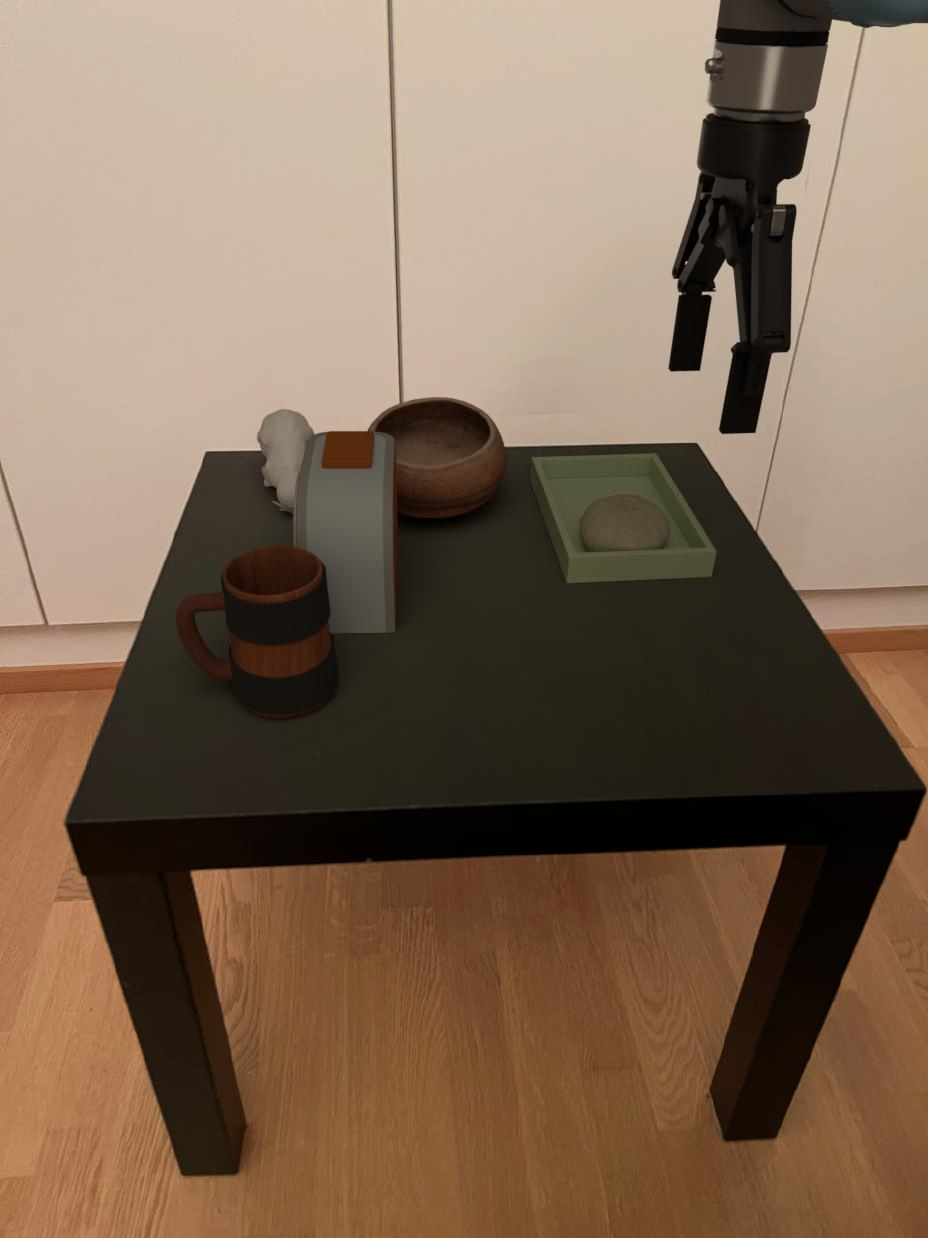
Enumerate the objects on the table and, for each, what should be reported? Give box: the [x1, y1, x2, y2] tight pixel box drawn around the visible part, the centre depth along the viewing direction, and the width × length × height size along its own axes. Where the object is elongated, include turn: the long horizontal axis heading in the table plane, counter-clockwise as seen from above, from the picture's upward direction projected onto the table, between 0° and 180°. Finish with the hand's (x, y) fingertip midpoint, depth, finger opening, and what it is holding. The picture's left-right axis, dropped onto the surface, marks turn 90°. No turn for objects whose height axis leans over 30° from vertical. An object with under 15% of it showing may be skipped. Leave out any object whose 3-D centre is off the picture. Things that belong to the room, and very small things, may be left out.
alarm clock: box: [292, 430, 399, 634], centre depth 87 cm, size 15×8×14 cm, turn 2°
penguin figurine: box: [256, 408, 315, 515], centre depth 103 cm, size 6×8×12 cm
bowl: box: [367, 396, 508, 519], centre depth 102 cm, size 16×16×10 cm
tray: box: [529, 452, 717, 584], centre depth 101 cm, size 22×15×3 cm
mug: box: [175, 545, 339, 720], centre depth 75 cm, size 9×12×12 cm
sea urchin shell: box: [579, 494, 671, 552], centre depth 96 cm, size 9×8×8 cm
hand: (708, 399), depth 79 cm, fingers open, 13 cm apart
